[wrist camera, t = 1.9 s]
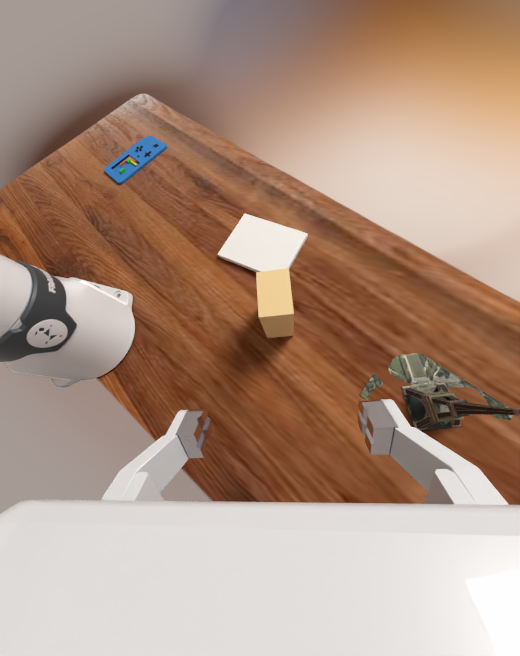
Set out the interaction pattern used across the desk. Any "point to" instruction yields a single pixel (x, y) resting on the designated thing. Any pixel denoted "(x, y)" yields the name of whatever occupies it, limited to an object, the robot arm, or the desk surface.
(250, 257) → the mat
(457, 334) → the desk surface
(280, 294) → the card box
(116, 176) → the handheld gaming device
